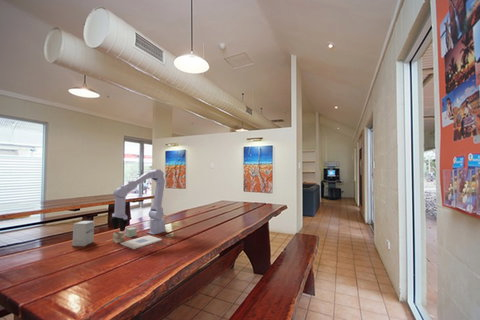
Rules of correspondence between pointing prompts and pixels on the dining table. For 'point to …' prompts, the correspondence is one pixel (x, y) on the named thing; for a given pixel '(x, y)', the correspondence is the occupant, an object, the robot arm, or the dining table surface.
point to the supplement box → (83, 233)
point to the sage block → (131, 232)
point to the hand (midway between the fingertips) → (118, 230)
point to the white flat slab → (140, 242)
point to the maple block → (118, 237)
